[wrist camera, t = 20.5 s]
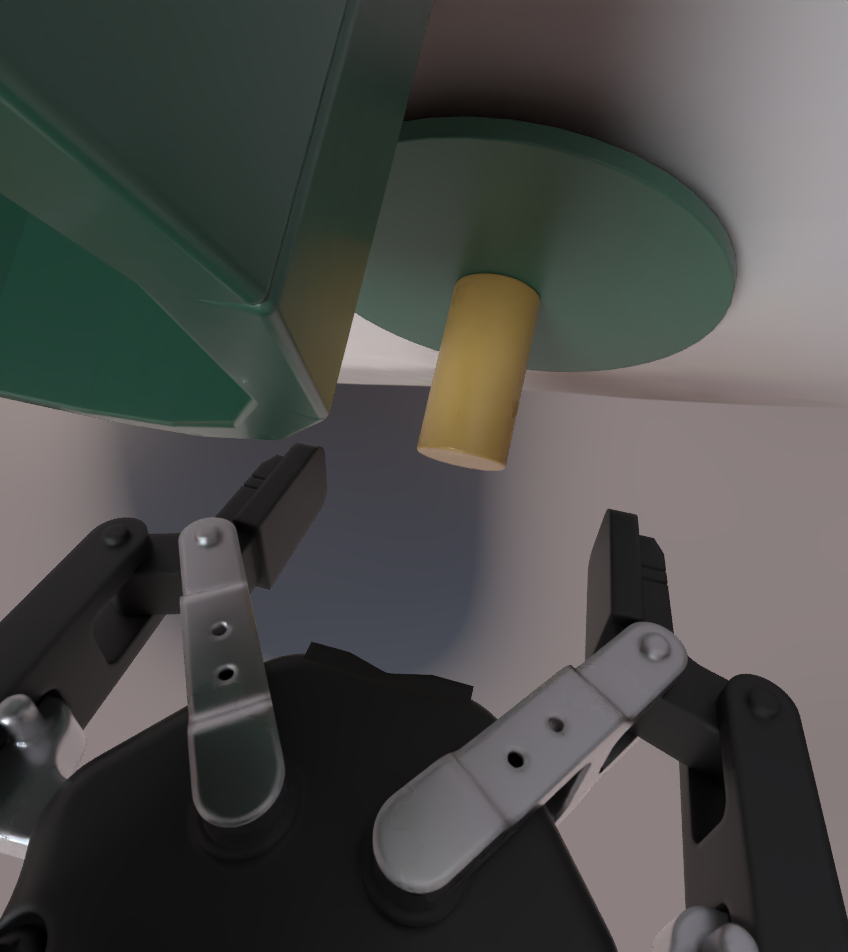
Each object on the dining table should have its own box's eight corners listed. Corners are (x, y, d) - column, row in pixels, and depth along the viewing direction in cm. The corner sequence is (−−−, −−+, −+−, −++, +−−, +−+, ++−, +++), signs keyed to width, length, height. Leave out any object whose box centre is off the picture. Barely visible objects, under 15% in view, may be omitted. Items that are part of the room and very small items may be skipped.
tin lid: (691, -23, 8) (612, 387, 8) (760, 342, 19) (730, 528, 18) (206, 171, 16) (145, 380, 16) (446, 351, 27) (416, 480, 26)
